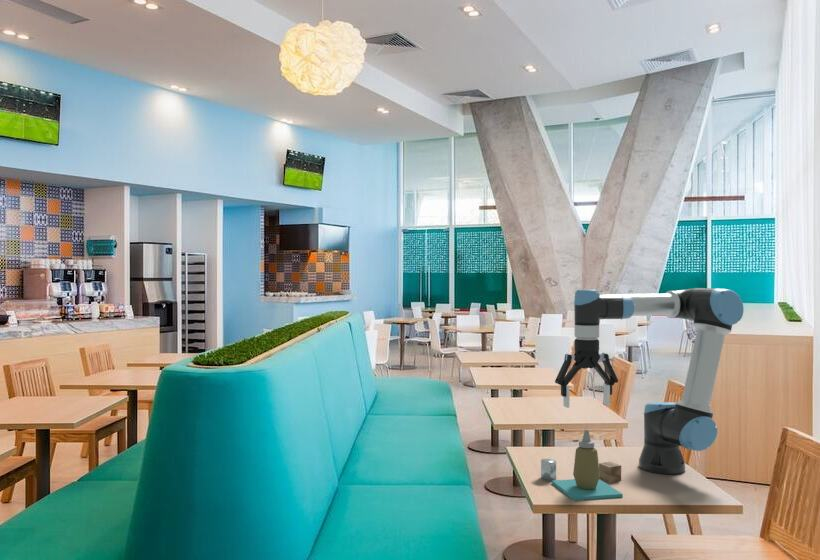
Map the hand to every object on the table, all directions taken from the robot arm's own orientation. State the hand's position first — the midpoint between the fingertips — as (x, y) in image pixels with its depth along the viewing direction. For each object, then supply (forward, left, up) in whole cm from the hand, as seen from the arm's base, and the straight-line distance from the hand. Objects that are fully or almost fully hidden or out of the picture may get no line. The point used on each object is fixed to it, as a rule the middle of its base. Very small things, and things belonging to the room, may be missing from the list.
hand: (586, 406), depth 201 cm
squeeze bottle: (0, 0, -26) cm, 26 cm away
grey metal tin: (+7, -13, -26) cm, 30 cm away
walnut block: (-13, -9, -27) cm, 31 cm away
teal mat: (0, 0, -26) cm, 27 cm away
